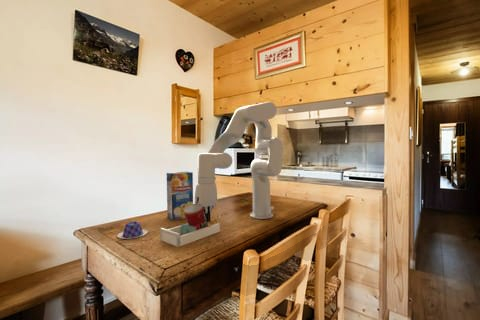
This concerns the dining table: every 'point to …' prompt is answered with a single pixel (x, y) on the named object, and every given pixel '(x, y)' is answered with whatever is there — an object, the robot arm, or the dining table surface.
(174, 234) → the white shallow tray
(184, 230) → the pusher
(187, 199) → the blue food box
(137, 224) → the blue checkered hat
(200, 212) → the canned food
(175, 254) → the dining table surface
